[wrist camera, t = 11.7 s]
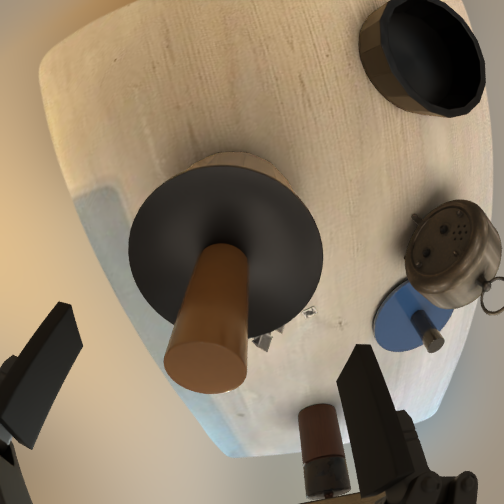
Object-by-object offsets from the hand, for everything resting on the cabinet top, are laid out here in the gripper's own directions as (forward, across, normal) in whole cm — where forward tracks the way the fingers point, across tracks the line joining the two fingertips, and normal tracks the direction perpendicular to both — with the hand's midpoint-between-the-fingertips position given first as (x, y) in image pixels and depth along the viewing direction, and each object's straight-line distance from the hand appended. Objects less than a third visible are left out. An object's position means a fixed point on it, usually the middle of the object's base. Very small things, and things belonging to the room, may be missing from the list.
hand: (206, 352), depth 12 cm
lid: (+9, 0, 0) cm, 9 cm away
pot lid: (+19, +27, -10) cm, 34 cm away
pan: (+20, +16, +20) cm, 32 cm away
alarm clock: (+20, +22, +2) cm, 29 cm away
